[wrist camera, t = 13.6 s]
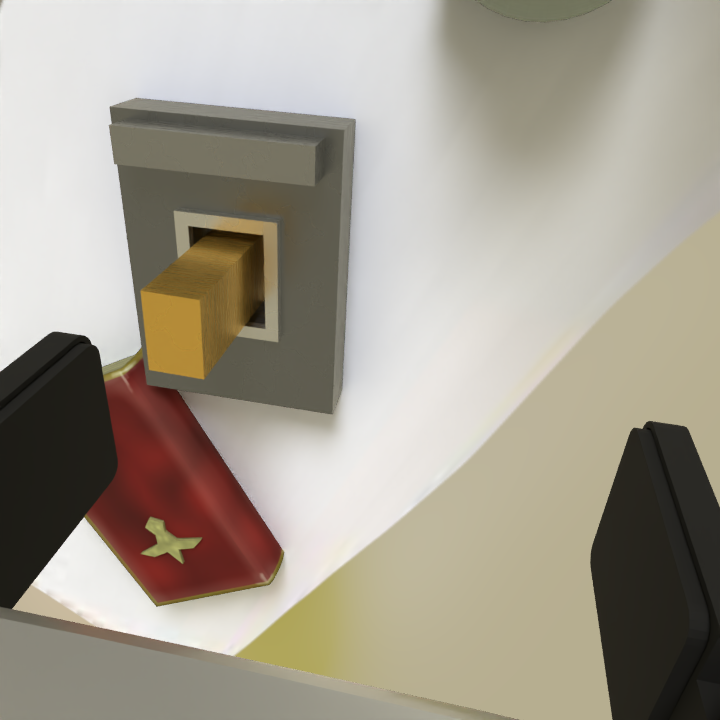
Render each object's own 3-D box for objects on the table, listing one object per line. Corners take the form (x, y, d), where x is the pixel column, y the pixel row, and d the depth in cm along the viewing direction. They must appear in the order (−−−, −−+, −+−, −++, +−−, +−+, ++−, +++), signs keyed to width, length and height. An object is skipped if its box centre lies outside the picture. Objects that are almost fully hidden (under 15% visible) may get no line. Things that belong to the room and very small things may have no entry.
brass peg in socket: (224, 219, 41) (140, 290, 31) (270, 225, 40) (199, 300, 31) (226, 284, 43) (148, 370, 34) (270, 291, 43) (204, 379, 33)
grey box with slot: (136, 98, 38) (89, 113, 34) (355, 119, 36) (335, 138, 32) (166, 362, 47) (132, 400, 43) (342, 389, 45) (325, 432, 41)
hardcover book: (151, 340, 47) (122, 370, 43) (287, 547, 55) (272, 586, 52) (34, 386, 51) (-2, 416, 48) (176, 571, 60) (155, 609, 56)
